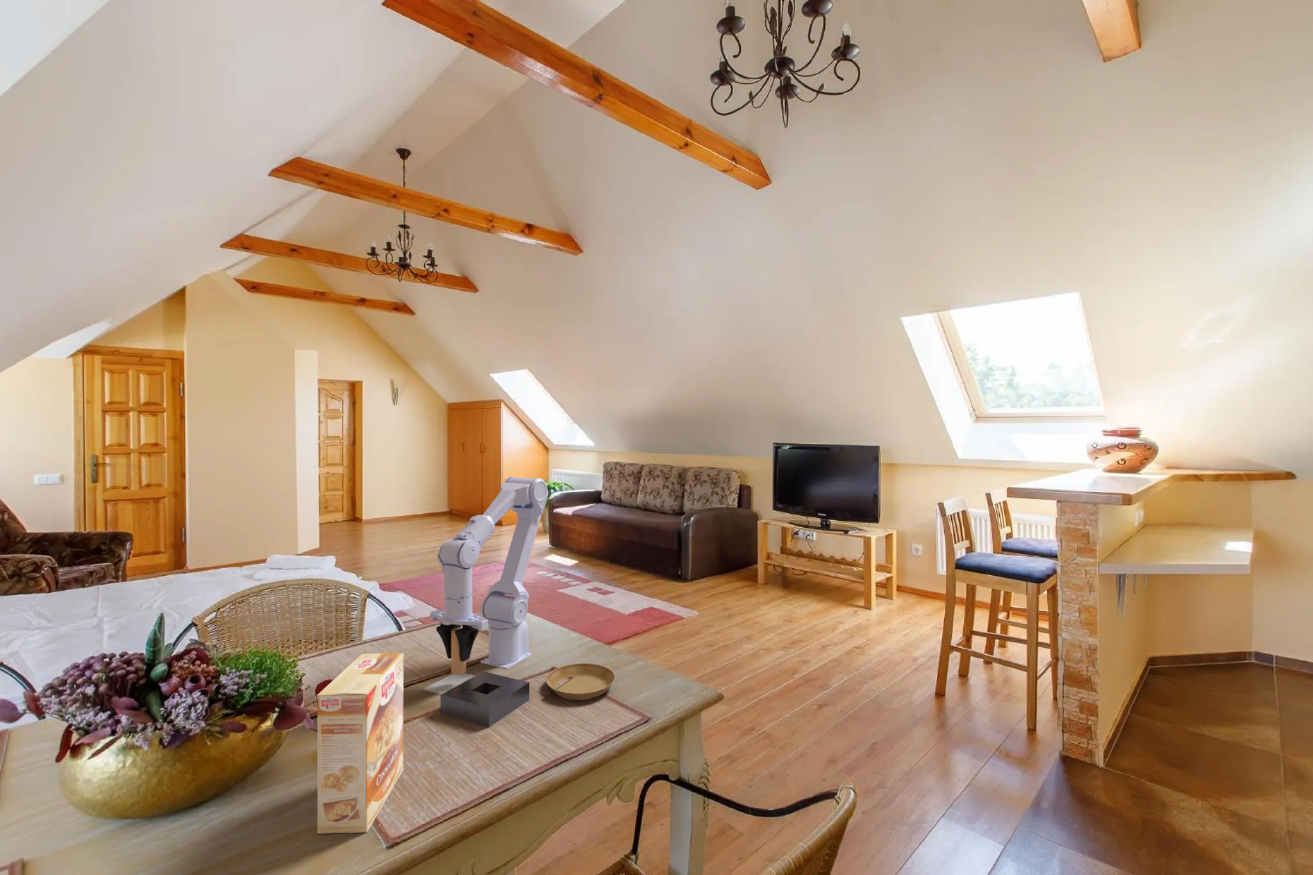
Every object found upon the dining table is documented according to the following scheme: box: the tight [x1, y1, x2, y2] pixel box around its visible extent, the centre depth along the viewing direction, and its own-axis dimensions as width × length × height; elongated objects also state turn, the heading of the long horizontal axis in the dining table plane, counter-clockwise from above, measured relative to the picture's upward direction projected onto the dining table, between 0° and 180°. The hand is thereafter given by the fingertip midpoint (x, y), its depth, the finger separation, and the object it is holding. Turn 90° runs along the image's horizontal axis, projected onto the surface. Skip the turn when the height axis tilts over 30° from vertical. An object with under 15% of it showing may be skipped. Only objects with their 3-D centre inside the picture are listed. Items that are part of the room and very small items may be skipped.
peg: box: [450, 627, 467, 675], centre depth 126 cm, size 3×3×9 cm
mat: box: [422, 672, 476, 695], centre depth 127 cm, size 10×10×1 cm
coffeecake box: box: [316, 652, 405, 835], centre depth 88 cm, size 15×7×20 cm, turn 4°
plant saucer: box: [545, 662, 616, 701], centre depth 126 cm, size 15×15×3 cm
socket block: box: [439, 670, 530, 728], centre depth 117 cm, size 12×12×4 cm
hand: (458, 658), depth 126 cm, fingers closed on peg, 3 cm apart
